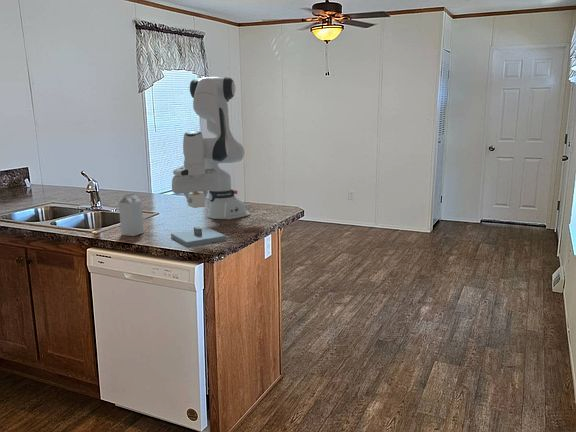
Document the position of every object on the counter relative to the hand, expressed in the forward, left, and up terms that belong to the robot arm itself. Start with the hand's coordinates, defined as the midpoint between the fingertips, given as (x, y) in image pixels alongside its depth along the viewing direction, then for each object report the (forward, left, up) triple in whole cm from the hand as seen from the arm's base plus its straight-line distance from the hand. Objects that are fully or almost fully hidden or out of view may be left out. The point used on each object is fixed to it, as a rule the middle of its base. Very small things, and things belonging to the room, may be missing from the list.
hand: (196, 201), depth 219 cm
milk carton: (+21, -26, -17) cm, 37 cm away
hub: (0, 0, -17) cm, 17 cm away
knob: (0, 0, -2) cm, 2 cm away
